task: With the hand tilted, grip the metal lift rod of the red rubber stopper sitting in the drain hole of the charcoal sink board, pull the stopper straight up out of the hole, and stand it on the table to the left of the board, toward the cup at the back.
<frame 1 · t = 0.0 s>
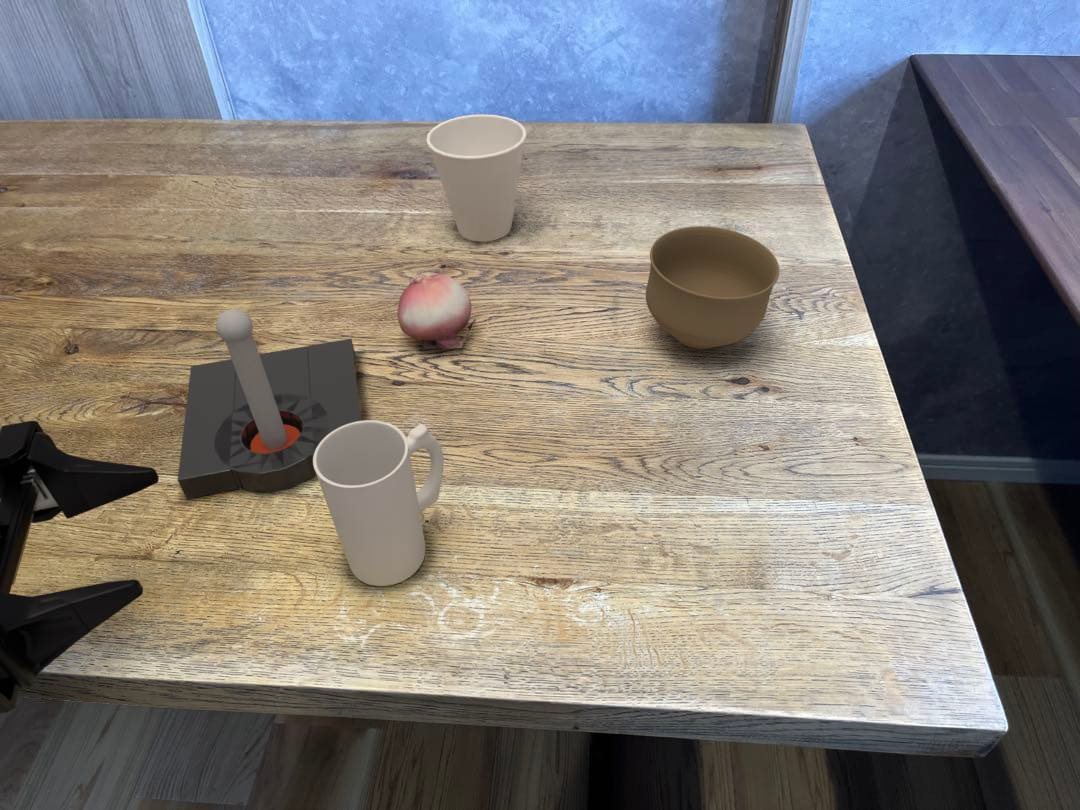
hand: (149, 527, 51), 14 cm above the table, tool horizontal, fingers open, 9 cm apart
onion: (439, 338, 88), on the table
stopper: (279, 450, 76), resting in sink board
sink board: (278, 421, 79), on the table
cup: (484, 229, 104), on the table
bowl: (703, 338, 86), on the table
mug: (404, 545, 67), on the table
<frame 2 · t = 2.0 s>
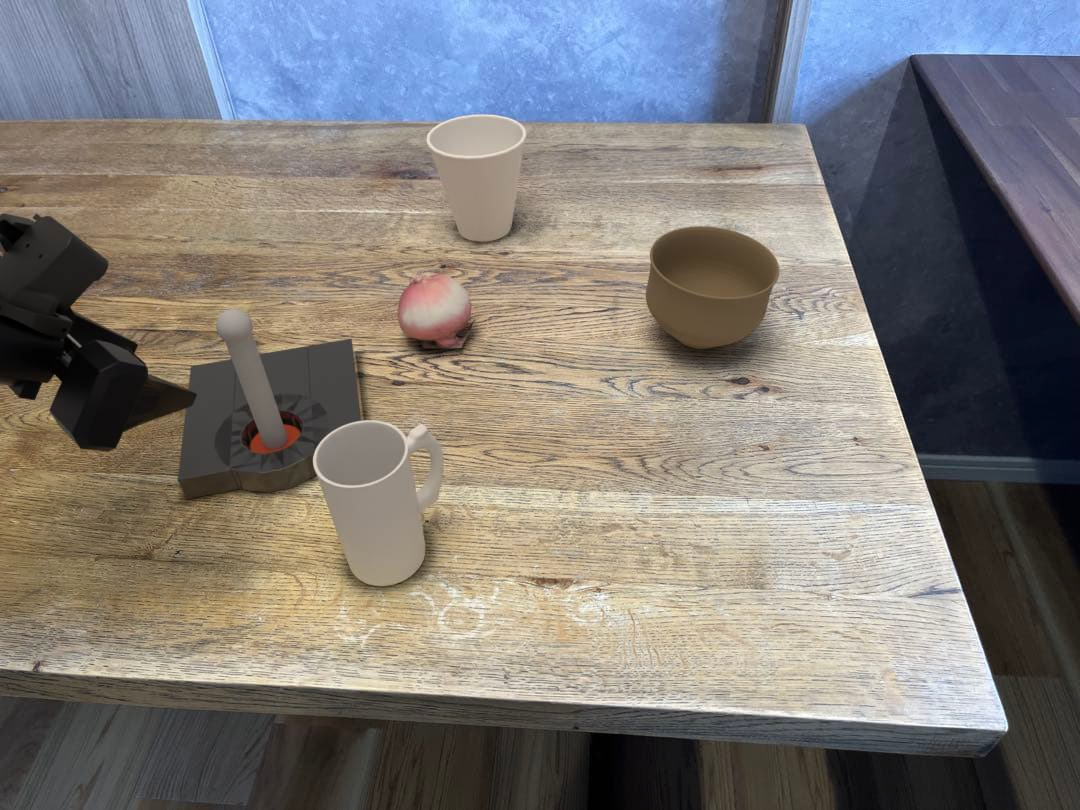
hand: (163, 373, 63), 14 cm above the table, tool tilted 45°, fingers open, 9 cm apart
nothing on the table moved.
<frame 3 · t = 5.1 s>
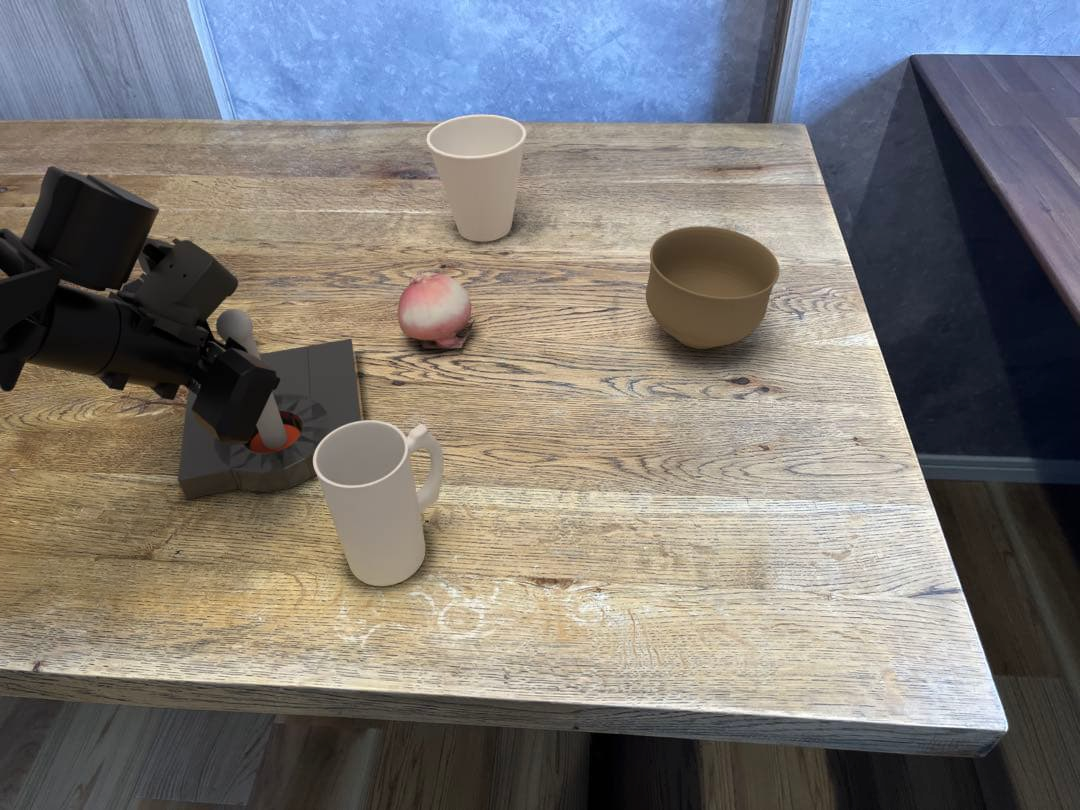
hand: (269, 377, 71), 8 cm above the table, tool tilted 45°, fingers closed on stopper, 2 cm apart
stopper: (279, 450, 76), resting in sink board, touching gripper
everything else where it was.
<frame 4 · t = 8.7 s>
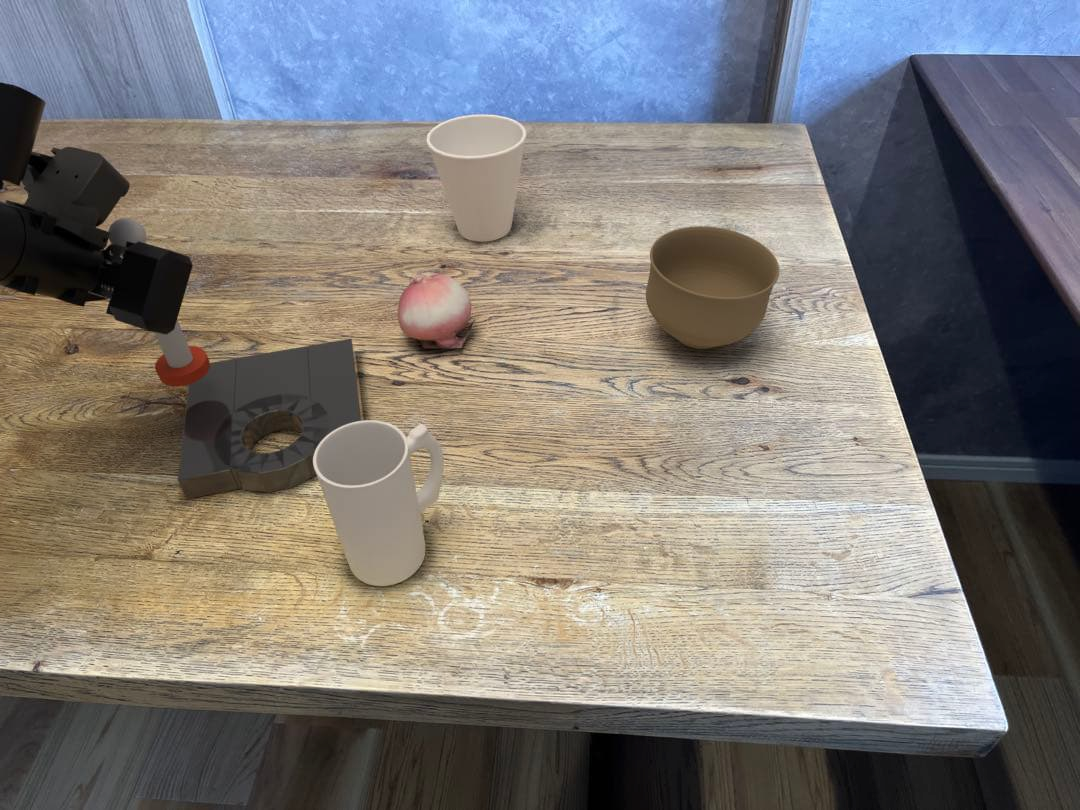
hand: (166, 291, 72), 13 cm above the table, tool tilted 45°, fingers closed on stopper, 2 cm apart
stopper: (185, 370, 76), point 5 cm above the table, touching gripper
everything else where it was.
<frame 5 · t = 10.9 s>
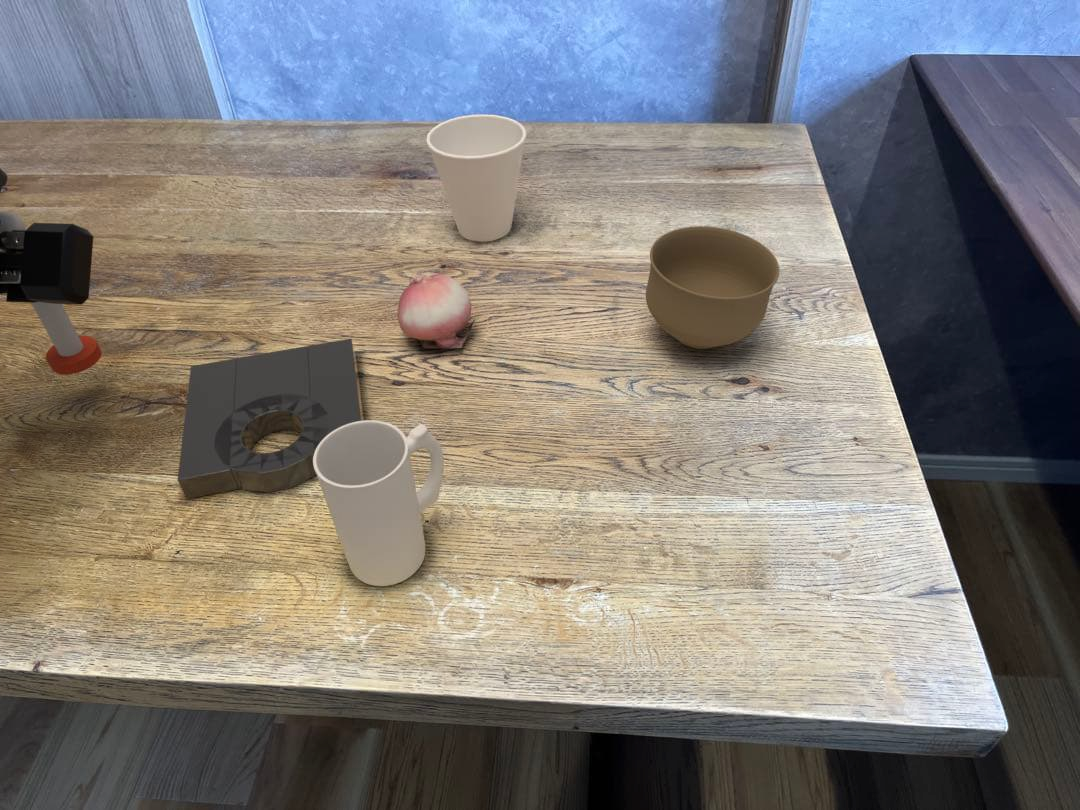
hand: (47, 281, 75), 13 cm above the table, tool tilted 45°, fingers closed on stopper, 2 cm apart
stopper: (76, 359, 79), point 5 cm above the table, touching gripper
everything else where it was.
when the fingers open (8 cm above the table, at t = 12.5 s): stopper stays where it is, on the table.
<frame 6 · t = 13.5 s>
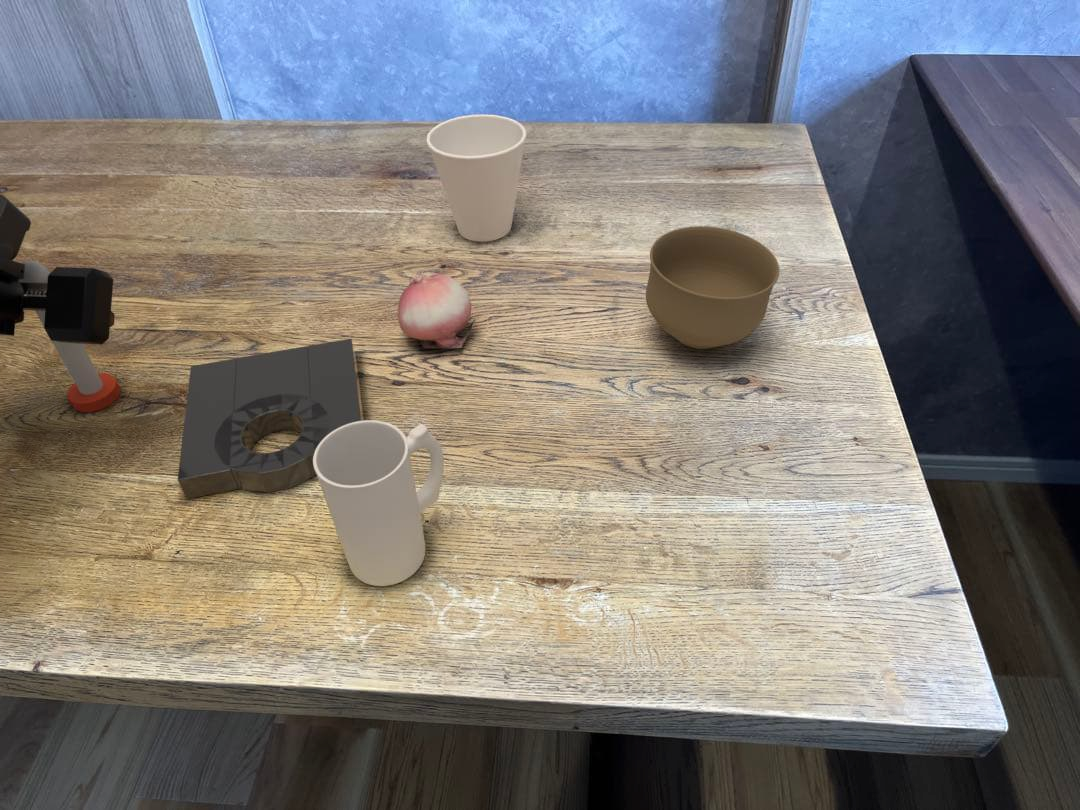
hand: (67, 317, 78), 9 cm above the table, tool tilted 45°, fingers open, 9 cm apart
stopper: (96, 396, 82), on the table
everything else where it was.
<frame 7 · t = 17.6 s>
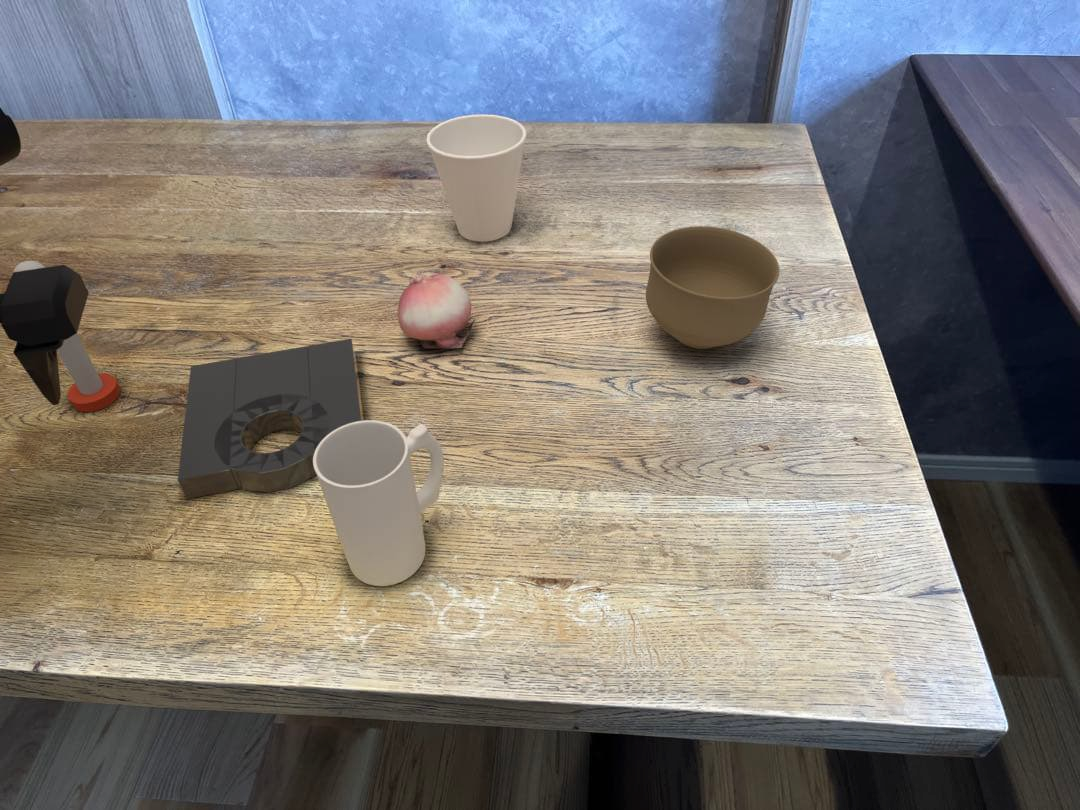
nothing on the table moved.
at the end: stopper inside the target area on the table beside the sink board (0.1 cm from its centre), on the table; stopper 48.8 cm from the cup (horizontally); the gripper is holding nothing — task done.
